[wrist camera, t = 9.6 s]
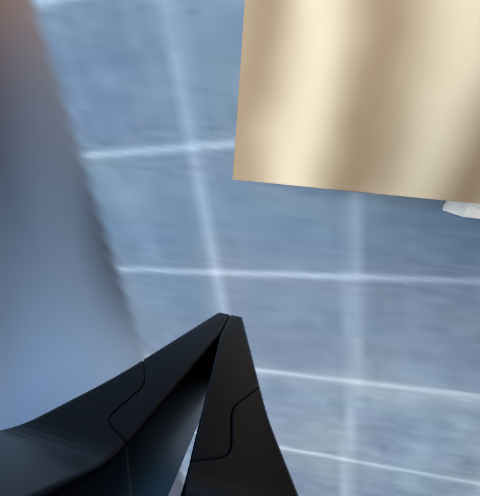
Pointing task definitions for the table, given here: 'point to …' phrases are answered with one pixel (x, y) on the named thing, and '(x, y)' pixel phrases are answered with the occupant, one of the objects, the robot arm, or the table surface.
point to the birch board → (361, 96)
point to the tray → (462, 209)
